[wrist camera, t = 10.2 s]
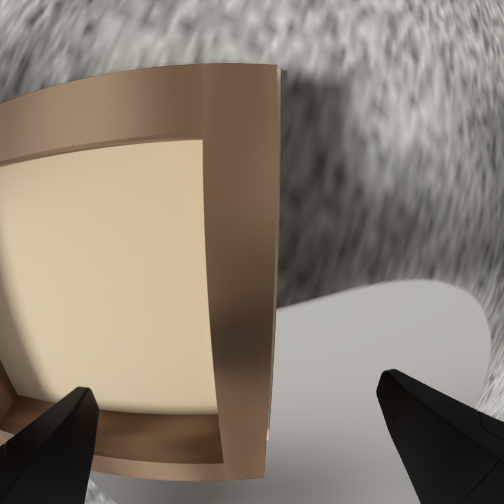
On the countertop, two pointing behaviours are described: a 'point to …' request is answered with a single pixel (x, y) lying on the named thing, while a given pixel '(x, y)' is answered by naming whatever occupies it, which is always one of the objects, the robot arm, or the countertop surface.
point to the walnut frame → (216, 249)
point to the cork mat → (111, 277)
